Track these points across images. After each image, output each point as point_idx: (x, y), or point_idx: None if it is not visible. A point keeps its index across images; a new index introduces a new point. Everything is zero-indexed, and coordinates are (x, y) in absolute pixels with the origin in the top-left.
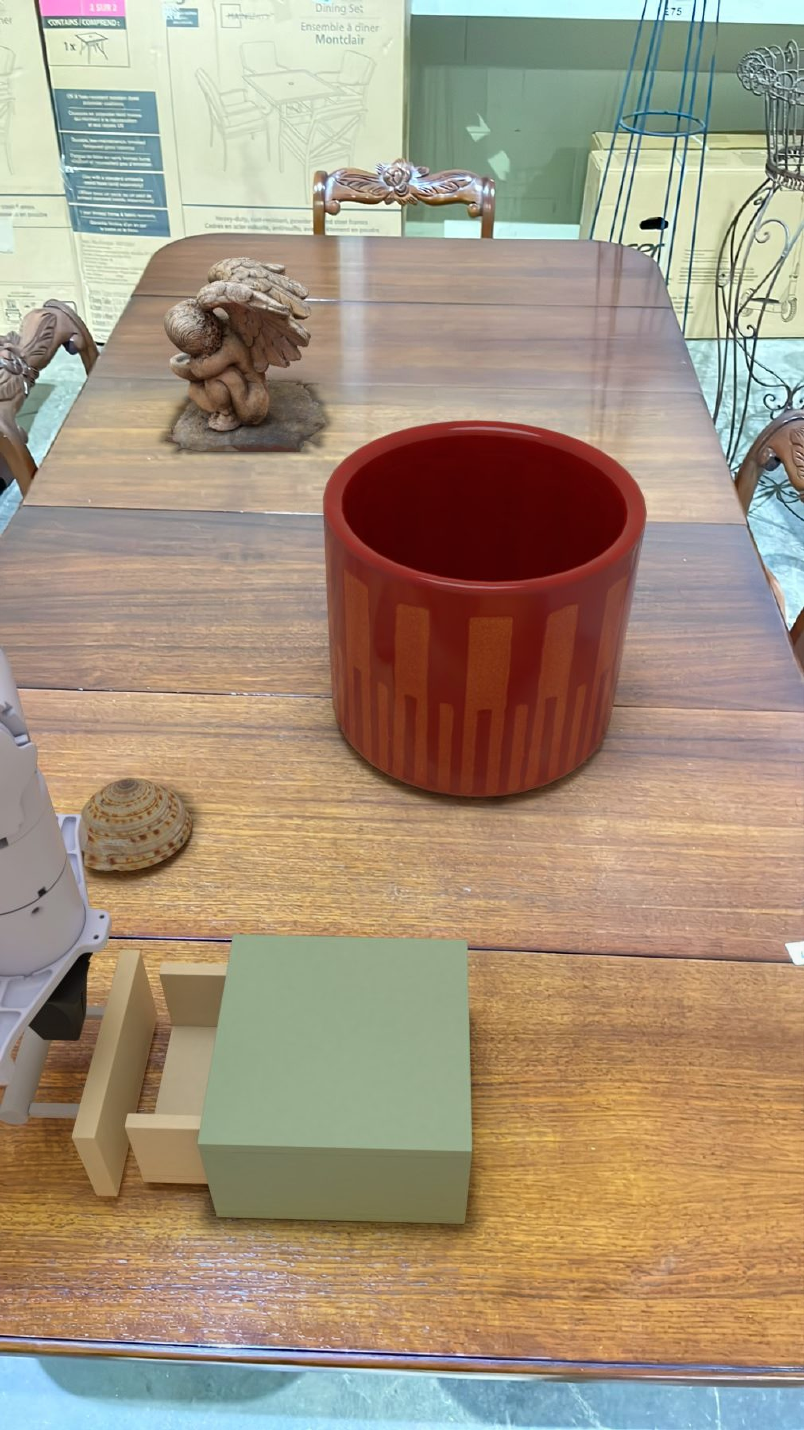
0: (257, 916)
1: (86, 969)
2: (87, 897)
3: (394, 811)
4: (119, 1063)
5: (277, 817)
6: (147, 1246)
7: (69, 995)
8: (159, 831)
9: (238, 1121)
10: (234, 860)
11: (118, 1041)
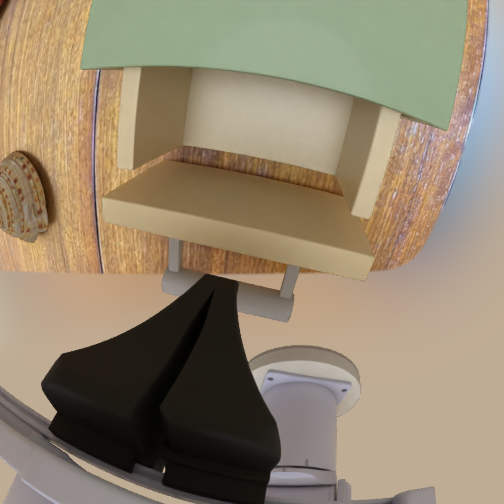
0: (77, 80)
1: (190, 430)
2: (16, 462)
3: (19, 3)
4: (257, 215)
5: (10, 86)
6: (389, 174)
7: (269, 456)
8: (15, 178)
9: (428, 63)
10: (35, 111)
11: (236, 224)
